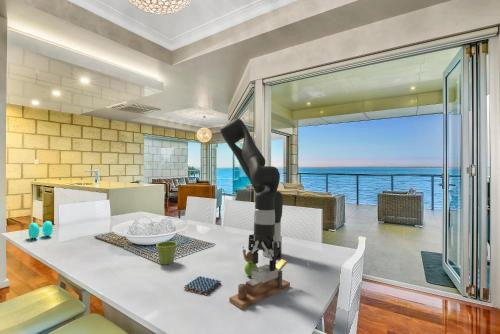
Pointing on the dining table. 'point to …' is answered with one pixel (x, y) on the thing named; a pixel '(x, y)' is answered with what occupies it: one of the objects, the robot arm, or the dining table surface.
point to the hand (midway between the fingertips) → (263, 267)
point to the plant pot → (166, 252)
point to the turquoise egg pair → (46, 229)
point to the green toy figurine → (250, 264)
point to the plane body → (257, 291)
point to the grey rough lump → (264, 274)
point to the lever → (281, 264)
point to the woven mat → (202, 285)
